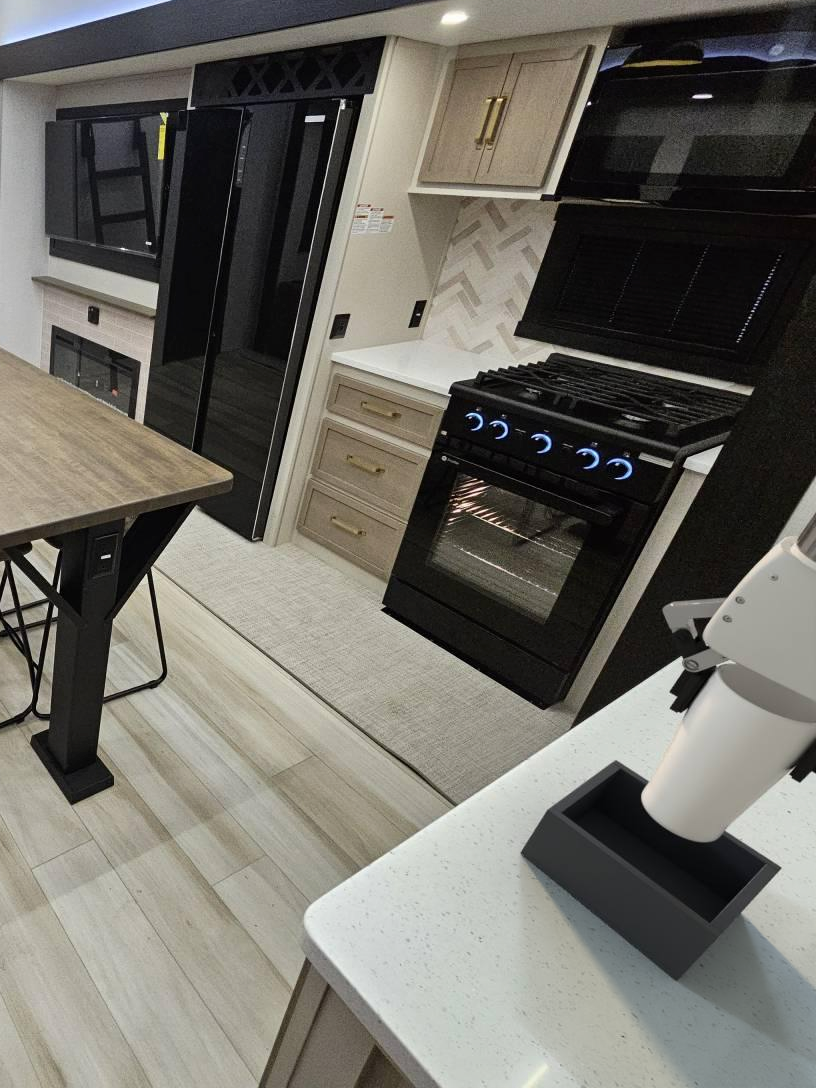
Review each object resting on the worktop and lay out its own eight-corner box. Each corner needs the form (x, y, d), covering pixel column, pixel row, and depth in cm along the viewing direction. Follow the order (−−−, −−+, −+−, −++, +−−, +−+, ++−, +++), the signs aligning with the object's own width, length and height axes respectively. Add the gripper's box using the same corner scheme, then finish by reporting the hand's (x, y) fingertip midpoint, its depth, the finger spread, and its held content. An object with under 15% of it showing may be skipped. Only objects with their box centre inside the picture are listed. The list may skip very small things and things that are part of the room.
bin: (587, 802, 72) (615, 759, 69) (740, 911, 62) (782, 867, 59) (519, 853, 66) (547, 809, 63) (676, 981, 57) (718, 937, 54)
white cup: (633, 771, 64) (717, 649, 57) (730, 819, 60) (834, 694, 53) (622, 815, 60) (711, 690, 52) (725, 870, 56) (838, 742, 48)
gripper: (1107, 613, 41) (912, 804, 50) (739, 488, 55) (635, 656, 63) (1081, 650, 38) (877, 848, 47) (697, 507, 51) (593, 682, 60)
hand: (739, 736), depth 55 cm, fingers closed on white cup, 6 cm apart
